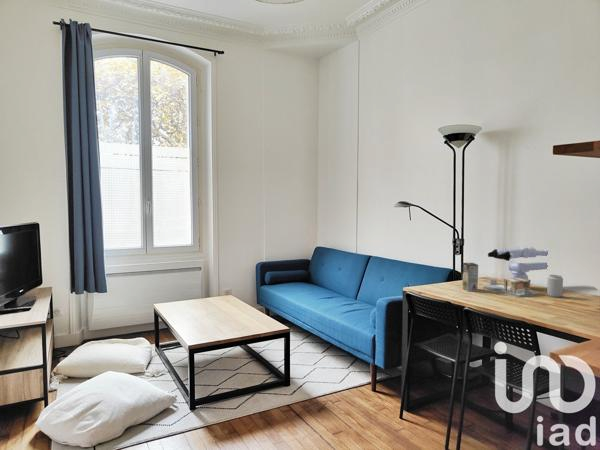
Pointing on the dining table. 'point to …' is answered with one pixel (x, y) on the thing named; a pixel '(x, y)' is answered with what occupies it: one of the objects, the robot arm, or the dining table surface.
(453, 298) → the dining table surface
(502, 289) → the track
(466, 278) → the coffee box
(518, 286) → the block
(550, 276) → the can
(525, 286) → the tunnel
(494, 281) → the sled
